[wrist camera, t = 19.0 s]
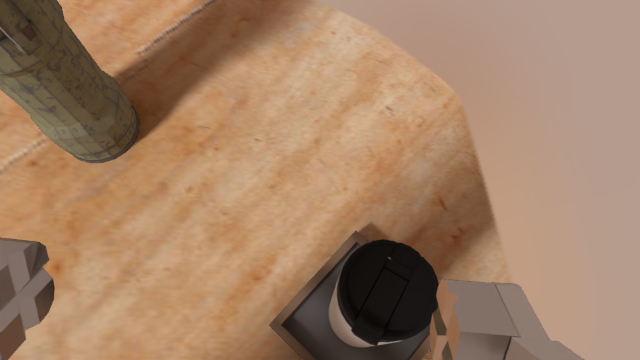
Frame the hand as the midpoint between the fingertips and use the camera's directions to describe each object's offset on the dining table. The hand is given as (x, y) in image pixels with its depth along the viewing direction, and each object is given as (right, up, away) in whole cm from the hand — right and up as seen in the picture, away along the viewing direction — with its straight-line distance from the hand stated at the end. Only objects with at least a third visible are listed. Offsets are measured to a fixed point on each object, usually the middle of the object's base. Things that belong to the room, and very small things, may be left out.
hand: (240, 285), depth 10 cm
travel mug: (+6, -11, +37) cm, 39 cm away
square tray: (+6, -12, +37) cm, 40 cm away
